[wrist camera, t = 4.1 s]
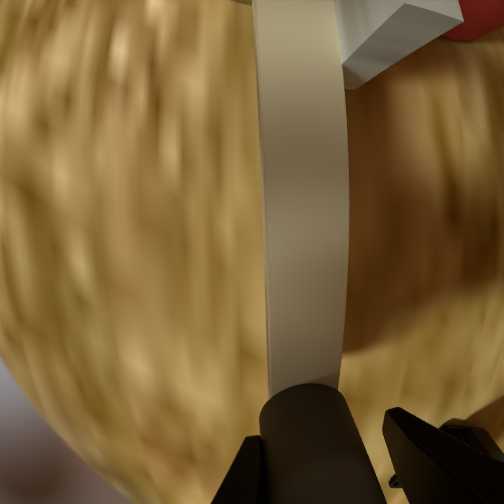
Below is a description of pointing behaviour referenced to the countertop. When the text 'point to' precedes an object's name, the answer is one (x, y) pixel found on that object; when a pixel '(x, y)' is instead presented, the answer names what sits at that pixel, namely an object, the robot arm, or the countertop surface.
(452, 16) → the lever
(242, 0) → the lever base
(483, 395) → the countertop surface
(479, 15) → the beer can
